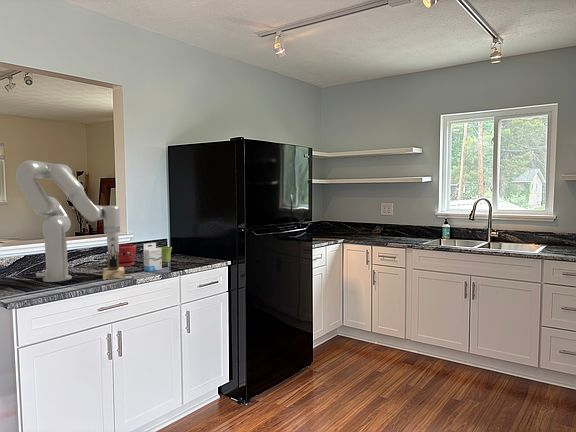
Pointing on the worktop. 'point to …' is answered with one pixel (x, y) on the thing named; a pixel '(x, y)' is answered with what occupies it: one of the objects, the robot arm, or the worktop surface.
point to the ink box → (152, 257)
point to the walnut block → (117, 262)
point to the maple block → (113, 273)
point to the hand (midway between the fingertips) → (113, 265)
